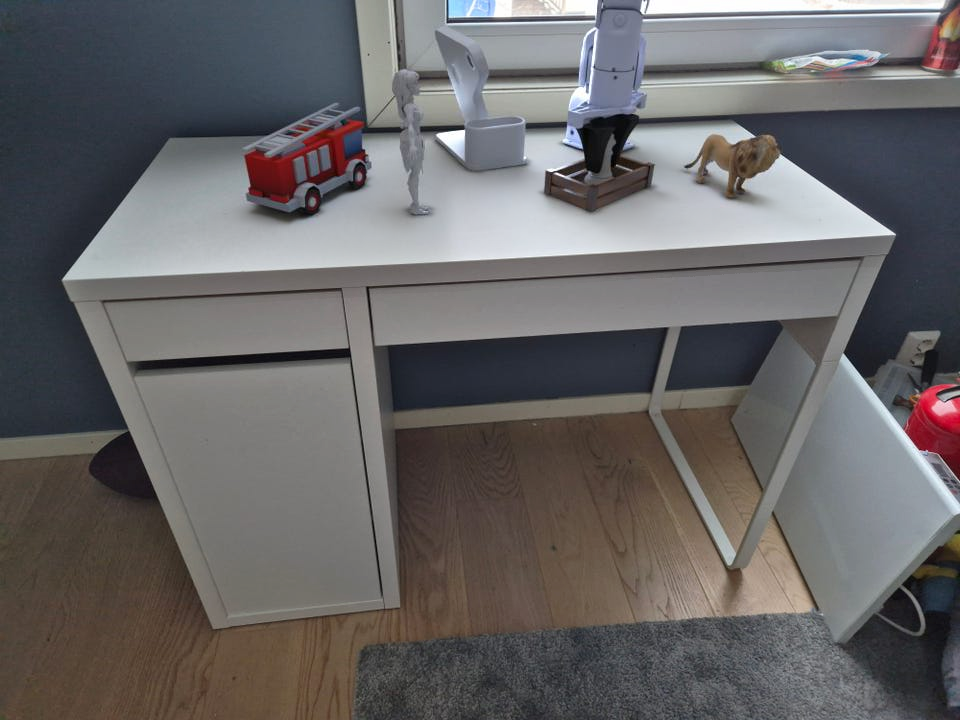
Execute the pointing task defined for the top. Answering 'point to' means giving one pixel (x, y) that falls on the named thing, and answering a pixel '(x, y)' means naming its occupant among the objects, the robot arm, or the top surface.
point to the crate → (602, 192)
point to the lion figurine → (737, 159)
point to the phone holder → (477, 110)
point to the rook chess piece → (603, 166)
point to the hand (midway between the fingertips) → (600, 168)
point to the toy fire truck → (307, 161)
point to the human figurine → (410, 131)
